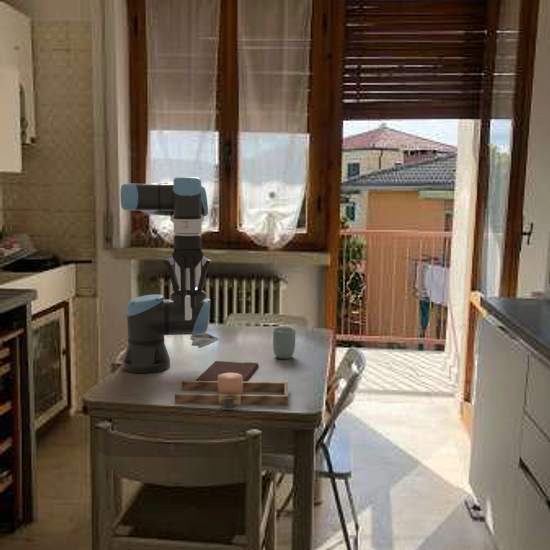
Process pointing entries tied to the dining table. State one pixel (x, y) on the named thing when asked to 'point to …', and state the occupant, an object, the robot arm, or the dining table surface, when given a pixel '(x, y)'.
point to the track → (234, 398)
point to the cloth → (203, 339)
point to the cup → (283, 342)
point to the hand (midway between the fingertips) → (188, 319)
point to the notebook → (228, 370)
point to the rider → (230, 383)
